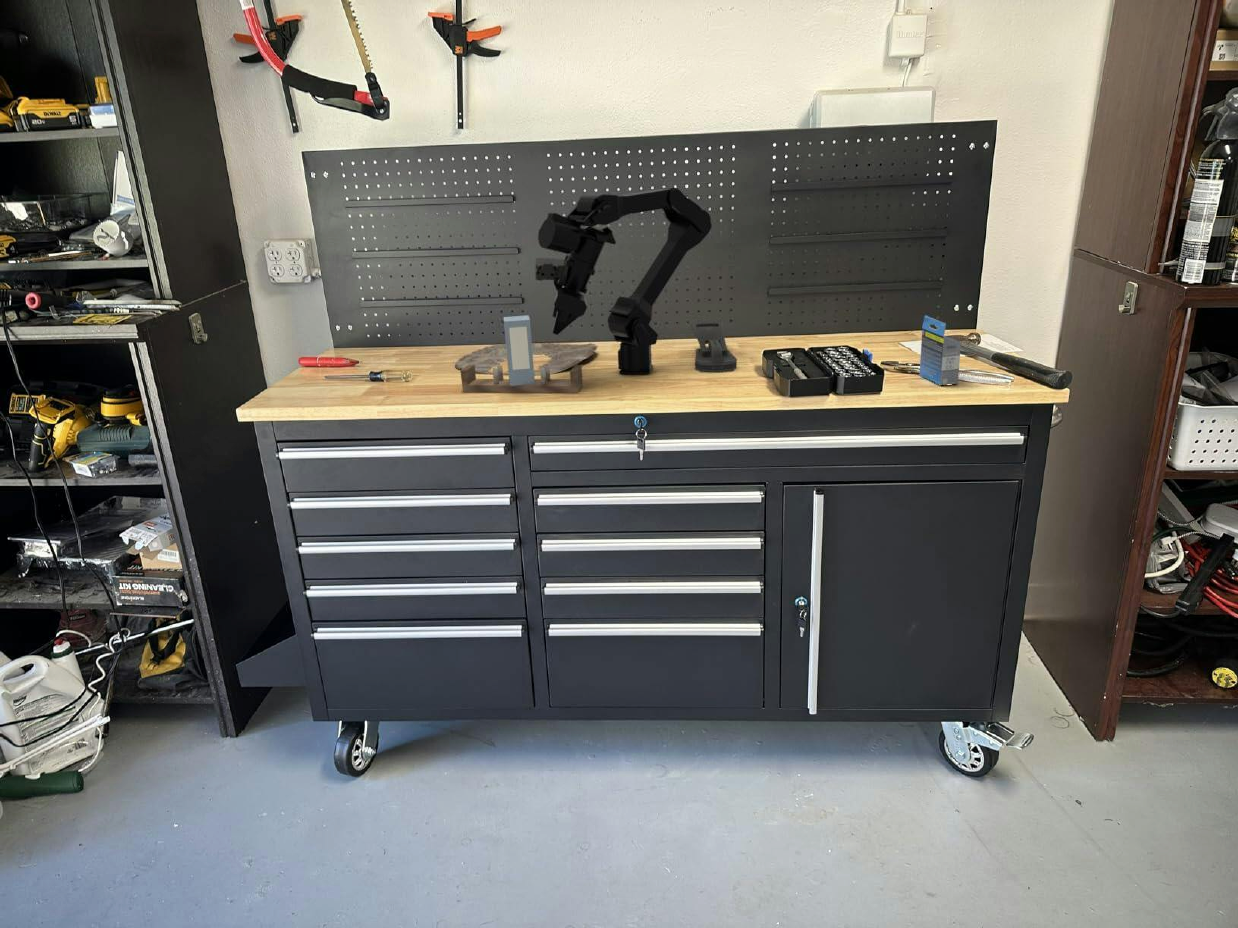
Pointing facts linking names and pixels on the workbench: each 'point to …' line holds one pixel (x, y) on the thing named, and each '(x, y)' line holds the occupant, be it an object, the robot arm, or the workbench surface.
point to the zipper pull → (712, 347)
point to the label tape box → (939, 354)
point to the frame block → (519, 350)
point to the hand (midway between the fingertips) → (554, 325)
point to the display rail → (504, 385)
